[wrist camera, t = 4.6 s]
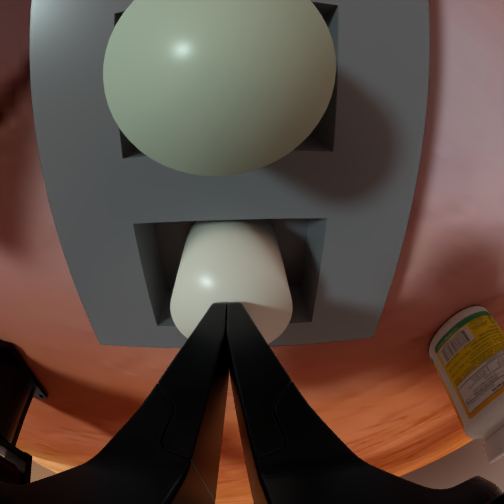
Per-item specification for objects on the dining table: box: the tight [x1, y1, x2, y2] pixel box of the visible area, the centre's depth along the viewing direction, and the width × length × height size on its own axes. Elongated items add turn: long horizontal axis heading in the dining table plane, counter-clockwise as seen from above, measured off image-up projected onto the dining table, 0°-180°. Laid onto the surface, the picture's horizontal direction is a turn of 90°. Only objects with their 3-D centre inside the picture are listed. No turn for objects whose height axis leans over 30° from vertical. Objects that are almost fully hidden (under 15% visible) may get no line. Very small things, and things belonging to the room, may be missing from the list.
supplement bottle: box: [429, 306, 504, 463], centre depth 13 cm, size 5×5×10 cm
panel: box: [30, 0, 430, 348], centre depth 8 cm, size 20×12×3 cm, turn 0°
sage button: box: [103, 0, 336, 176], centre depth 6 cm, size 4×4×4 cm
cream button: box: [170, 219, 293, 344], centre depth 11 cm, size 4×4×4 cm
